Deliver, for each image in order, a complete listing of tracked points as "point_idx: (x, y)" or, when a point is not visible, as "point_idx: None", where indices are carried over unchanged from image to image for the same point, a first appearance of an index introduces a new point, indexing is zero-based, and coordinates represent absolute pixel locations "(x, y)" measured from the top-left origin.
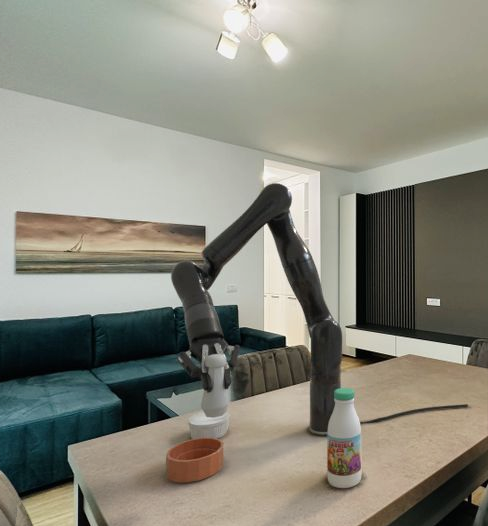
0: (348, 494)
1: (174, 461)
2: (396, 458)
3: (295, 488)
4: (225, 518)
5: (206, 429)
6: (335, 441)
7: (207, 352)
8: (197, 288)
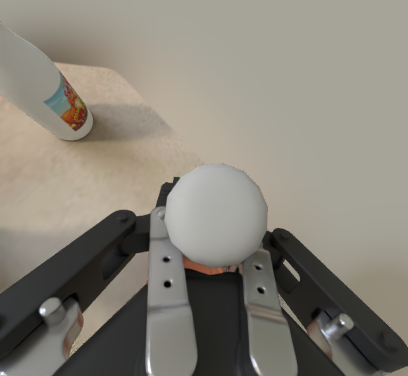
0: (93, 102)
1: (222, 271)
2: None
3: (123, 151)
4: (201, 161)
5: None
6: (63, 78)
7: (247, 299)
8: None
